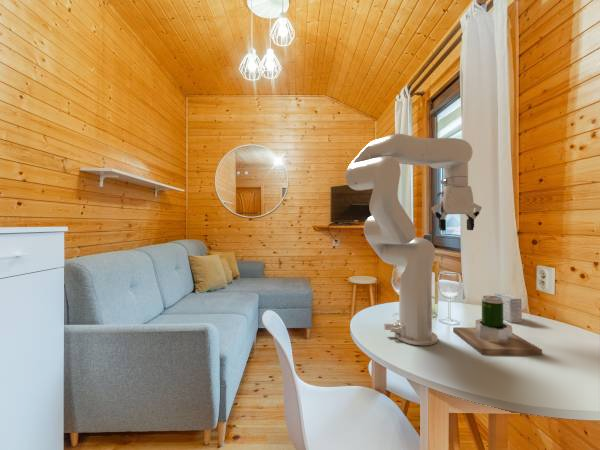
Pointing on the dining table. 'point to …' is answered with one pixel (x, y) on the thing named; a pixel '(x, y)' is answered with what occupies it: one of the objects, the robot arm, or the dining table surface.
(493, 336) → the can sleeve
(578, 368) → the dining table surface
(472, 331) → the walnut stand
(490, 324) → the beer can
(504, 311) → the medicine box
